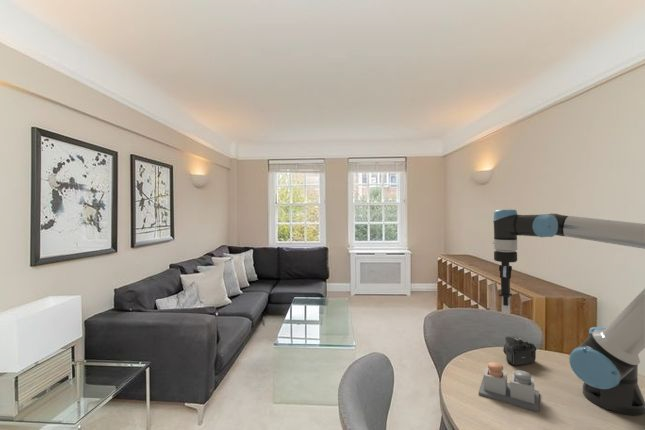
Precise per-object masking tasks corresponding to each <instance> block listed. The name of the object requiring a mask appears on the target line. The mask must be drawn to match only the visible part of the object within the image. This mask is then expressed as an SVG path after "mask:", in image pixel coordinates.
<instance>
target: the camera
mask: <svg viewBox="0 0 645 430" xmlns="http://www.w3.org/2000/svg"><path fill="white" fill-rule="evenodd" d="M502 351H503V353H504V354H505V356H506V357H505V358H506V359H505V360H506V362H507V363H509V364H510V365H513V366H515V367H516V366H522V365H527V364H532V363H534V362H535V361H536V358H537V357H536V356H537V355H536V351H537V347H536V346H535V345H534V344H533V343H531V342H530V341H528V340H524V339H522V338H520V337H516V336H511V335H509V336H506V337H505V344H504V346H503V350H502Z"/></svg>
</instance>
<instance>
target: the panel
mask: <svg viewBox="0 0 645 430" xmlns="http://www.w3.org/2000/svg"><path fill="white" fill-rule="evenodd" d="M509 382H510V383H509ZM509 382H508V371H505V370H502V378H499V377H495V376H491V375H489V368H488V366H485V369H484V372H483V378H482V381H481V384H480V386H479V390H478V396H482V397H486V398H489V399H492V400H495V401H498V402H503V403H506V404H509V405H513V406H516V407H519V408H523V409H527V410H531V411H534V412H536V413H540V396H539V395H540V392H539V390H536V389H535V378H534V377H531V379H530V385H527V384H523V383H519V382H515V376H514V372H513V373H511V374H510V381H509Z"/></svg>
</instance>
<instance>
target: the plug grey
mask: <svg viewBox="0 0 645 430" xmlns="http://www.w3.org/2000/svg"><path fill="white" fill-rule="evenodd" d="M513 373H514V376H515V382H519V383H523V384H527V385H530V379H531V378H532V374H530V373H529V372H528V371H525V370H520V369H517V370H514V371H513Z"/></svg>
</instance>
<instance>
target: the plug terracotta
mask: <svg viewBox="0 0 645 430" xmlns="http://www.w3.org/2000/svg"><path fill="white" fill-rule="evenodd" d="M487 367H488V368H489V375H491V376H495V377H499V378H502V371H504V365H502V364H501V363H498V362H494V361H489V362H488V363H487Z"/></svg>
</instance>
